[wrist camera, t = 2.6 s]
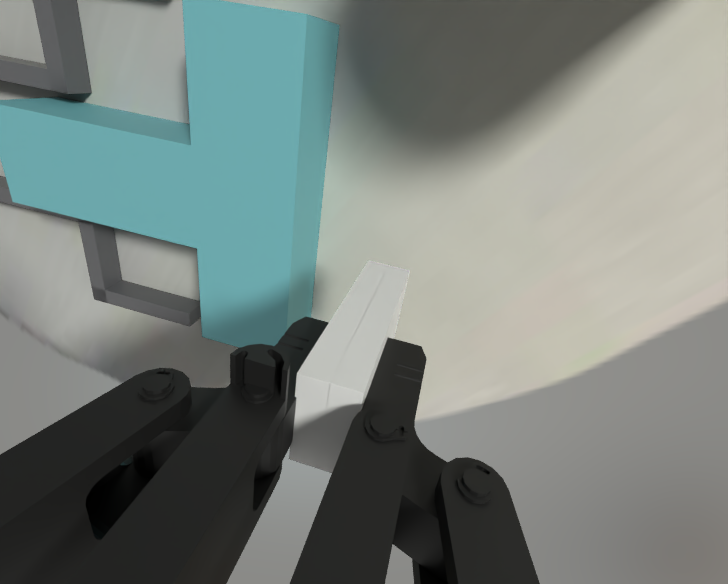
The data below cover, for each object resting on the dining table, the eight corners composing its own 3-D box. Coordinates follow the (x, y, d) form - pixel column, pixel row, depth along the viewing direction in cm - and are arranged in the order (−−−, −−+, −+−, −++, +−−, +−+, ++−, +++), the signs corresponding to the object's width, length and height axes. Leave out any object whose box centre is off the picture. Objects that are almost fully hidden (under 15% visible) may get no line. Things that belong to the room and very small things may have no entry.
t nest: (183, -43, 19) (161, -51, 17) (203, 314, 28) (189, 326, 27) (-136, -89, 21) (-176, -99, 20) (-19, 253, 31) (-41, 260, 29)
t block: (339, 25, 18) (307, 14, 15) (310, 322, 26) (284, 360, 23) (33, -24, 21) (-57, -44, 17) (91, 263, 28) (37, 289, 25)
